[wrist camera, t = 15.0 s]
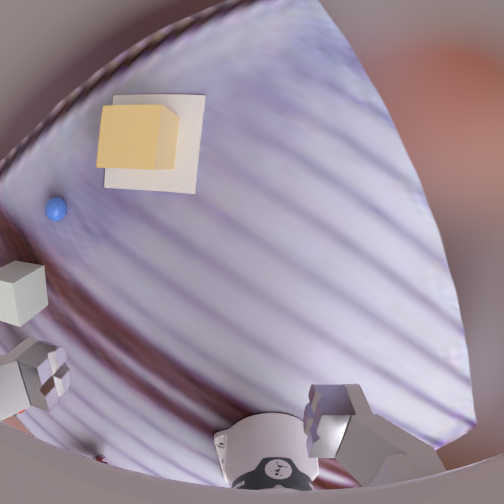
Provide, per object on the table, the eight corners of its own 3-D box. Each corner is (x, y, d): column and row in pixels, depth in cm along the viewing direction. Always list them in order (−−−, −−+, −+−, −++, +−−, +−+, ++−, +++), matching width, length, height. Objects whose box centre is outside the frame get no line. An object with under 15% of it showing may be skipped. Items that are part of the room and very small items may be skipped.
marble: (71, 219, 39) (58, 224, 35) (53, 218, 38) (40, 222, 35) (71, 196, 38) (58, 199, 35) (53, 195, 38) (40, 198, 35)
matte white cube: (48, 304, 42) (20, 327, 34) (19, 297, 42) (-9, 317, 34) (44, 265, 40) (12, 283, 32) (15, 260, 40) (-17, 276, 32)
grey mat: (195, 193, 38) (194, 194, 37) (105, 187, 38) (104, 187, 37) (206, 96, 35) (205, 95, 34) (114, 95, 34) (113, 95, 34)
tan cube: (174, 169, 37) (154, 169, 29) (125, 166, 36) (96, 167, 29) (179, 116, 35) (161, 104, 27) (130, 116, 35) (102, 105, 27)
